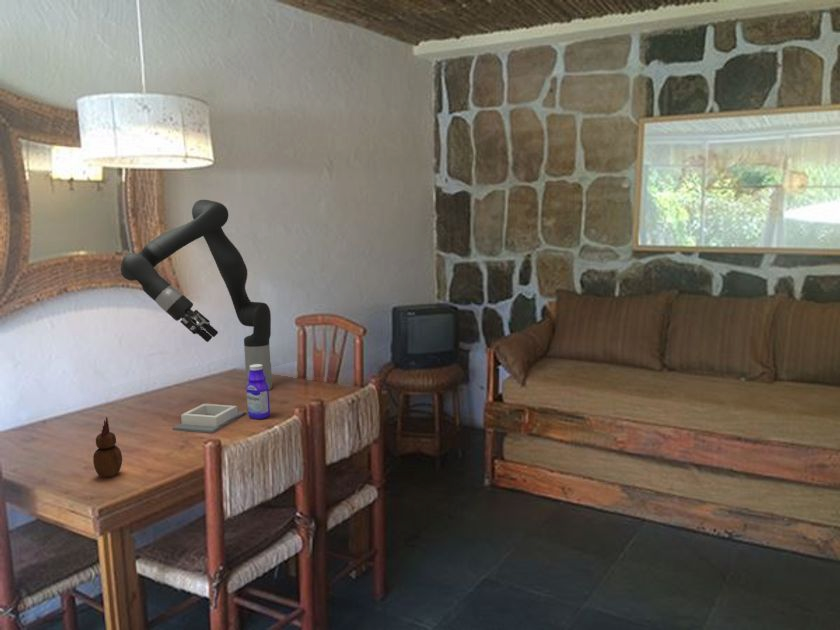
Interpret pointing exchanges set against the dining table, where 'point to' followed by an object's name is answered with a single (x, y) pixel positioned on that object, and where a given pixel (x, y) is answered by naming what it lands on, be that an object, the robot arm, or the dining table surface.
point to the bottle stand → (208, 418)
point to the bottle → (257, 393)
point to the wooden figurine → (107, 453)
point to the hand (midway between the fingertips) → (213, 337)
